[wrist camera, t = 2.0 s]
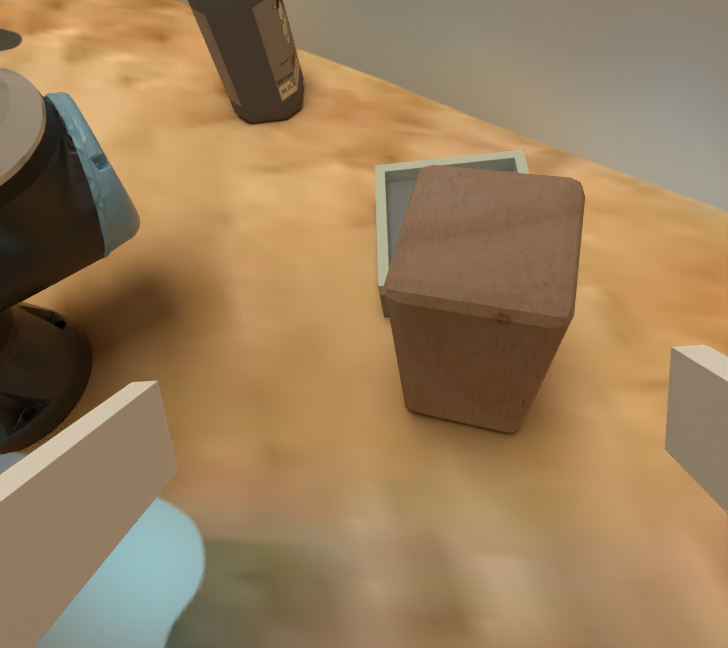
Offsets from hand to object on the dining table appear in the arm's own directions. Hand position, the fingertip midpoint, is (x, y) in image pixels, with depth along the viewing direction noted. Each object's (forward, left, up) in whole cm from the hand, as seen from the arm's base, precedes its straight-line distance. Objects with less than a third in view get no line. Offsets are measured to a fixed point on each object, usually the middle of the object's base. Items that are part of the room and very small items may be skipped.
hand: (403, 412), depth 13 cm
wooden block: (+5, +13, -30) cm, 33 cm away
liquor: (-17, +55, -30) cm, 65 cm away
